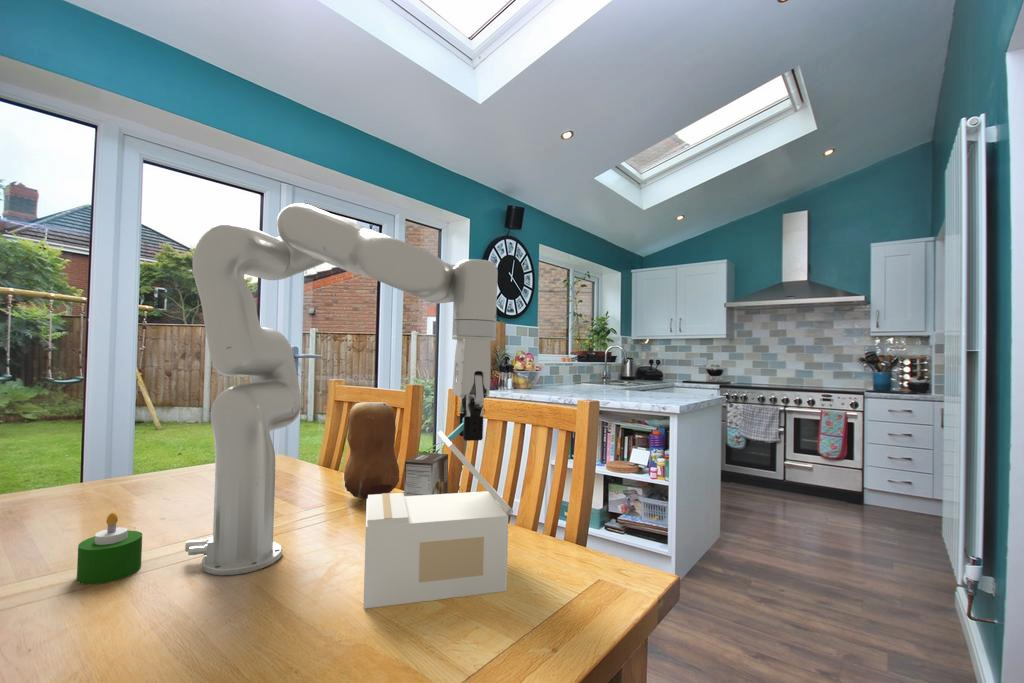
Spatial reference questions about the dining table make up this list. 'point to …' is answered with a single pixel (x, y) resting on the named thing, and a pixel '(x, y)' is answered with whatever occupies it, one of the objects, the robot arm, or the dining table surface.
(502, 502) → the flap
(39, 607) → the dining table surface
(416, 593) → the carton
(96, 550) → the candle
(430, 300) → the robot arm
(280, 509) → the dining table surface
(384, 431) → the butternut squash
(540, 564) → the dining table surface
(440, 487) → the coffee box
